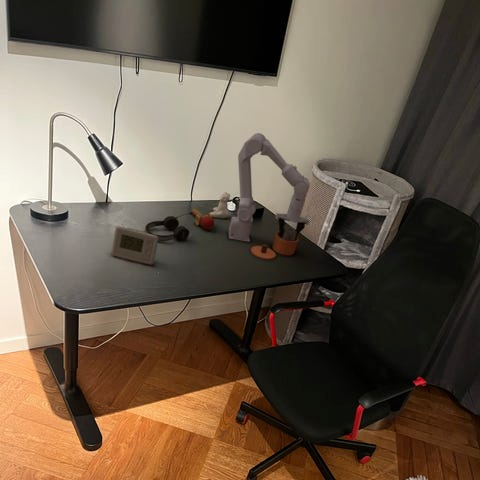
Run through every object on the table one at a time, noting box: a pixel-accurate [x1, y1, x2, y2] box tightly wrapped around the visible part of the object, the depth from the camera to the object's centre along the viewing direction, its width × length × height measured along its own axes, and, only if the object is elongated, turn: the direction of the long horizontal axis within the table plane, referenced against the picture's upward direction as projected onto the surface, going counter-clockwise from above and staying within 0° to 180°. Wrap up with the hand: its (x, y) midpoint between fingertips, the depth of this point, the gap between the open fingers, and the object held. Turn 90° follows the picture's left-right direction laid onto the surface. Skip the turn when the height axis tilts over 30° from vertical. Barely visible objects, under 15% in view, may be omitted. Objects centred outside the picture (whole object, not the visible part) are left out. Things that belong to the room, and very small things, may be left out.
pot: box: [271, 231, 299, 256], centre depth 208 cm, size 10×10×7 cm
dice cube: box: [279, 225, 297, 241], centre depth 206 cm, size 5×5×5 cm
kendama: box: [191, 208, 215, 231], centre depth 214 cm, size 8×6×18 cm
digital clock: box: [110, 225, 159, 266], centre depth 173 cm, size 16×9×11 cm, turn 72°
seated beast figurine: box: [209, 192, 231, 219], centre depth 223 cm, size 10×9×12 cm
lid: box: [250, 243, 277, 260], centre depth 201 cm, size 11×11×4 cm
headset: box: [144, 211, 193, 242], centre depth 196 cm, size 14×10×20 cm
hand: (287, 236), depth 206 cm, fingers closed on dice cube, 6 cm apart
